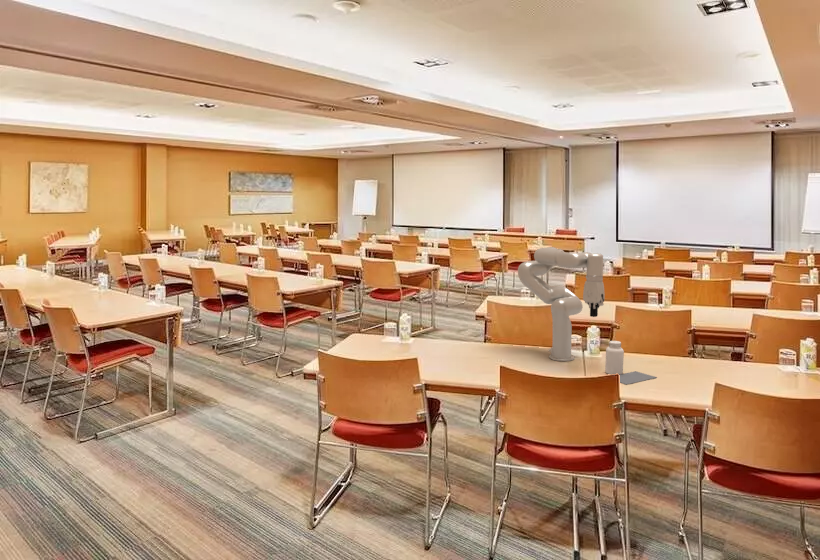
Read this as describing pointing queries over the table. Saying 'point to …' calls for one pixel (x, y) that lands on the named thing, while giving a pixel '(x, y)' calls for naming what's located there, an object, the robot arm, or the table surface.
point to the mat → (634, 377)
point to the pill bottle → (614, 358)
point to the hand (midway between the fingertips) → (593, 316)
